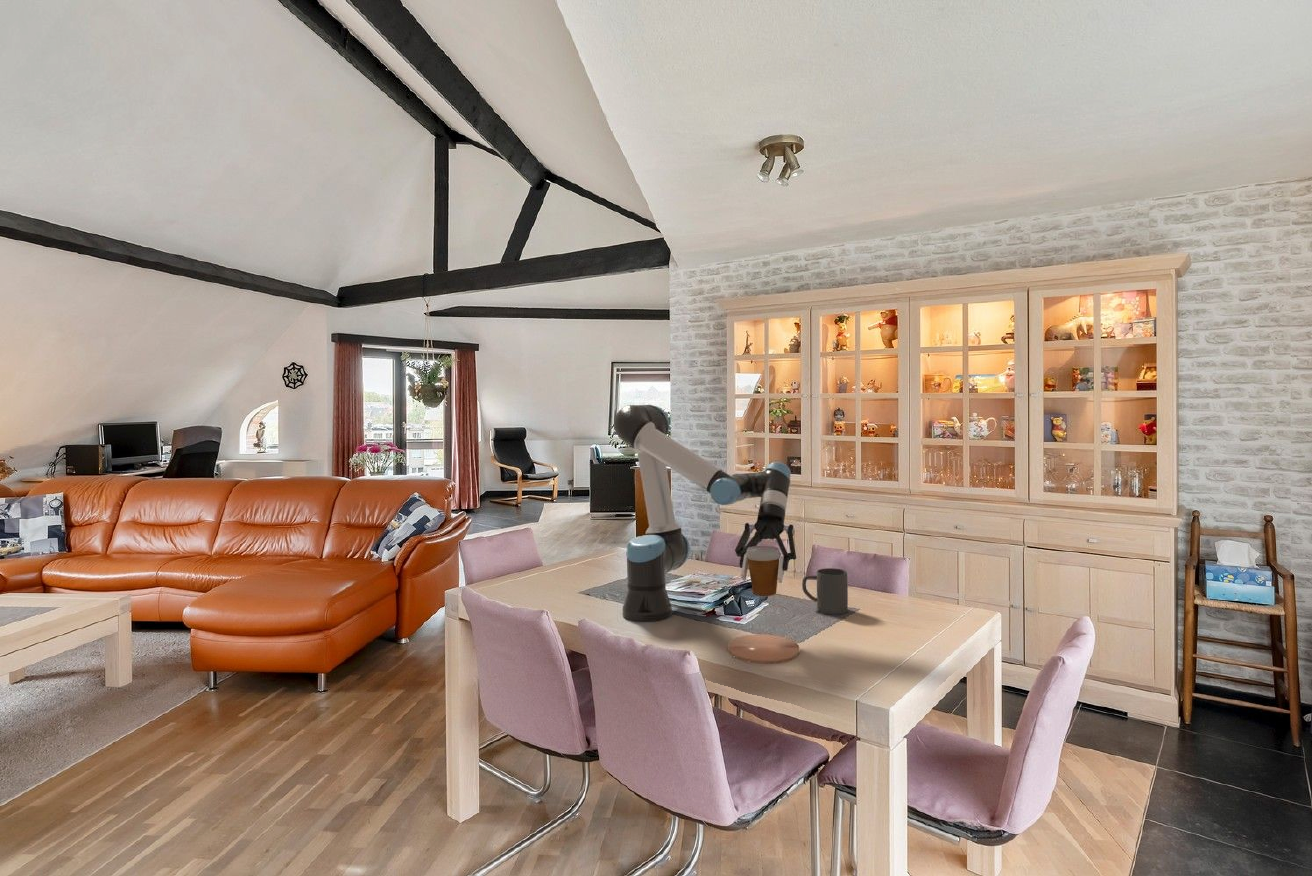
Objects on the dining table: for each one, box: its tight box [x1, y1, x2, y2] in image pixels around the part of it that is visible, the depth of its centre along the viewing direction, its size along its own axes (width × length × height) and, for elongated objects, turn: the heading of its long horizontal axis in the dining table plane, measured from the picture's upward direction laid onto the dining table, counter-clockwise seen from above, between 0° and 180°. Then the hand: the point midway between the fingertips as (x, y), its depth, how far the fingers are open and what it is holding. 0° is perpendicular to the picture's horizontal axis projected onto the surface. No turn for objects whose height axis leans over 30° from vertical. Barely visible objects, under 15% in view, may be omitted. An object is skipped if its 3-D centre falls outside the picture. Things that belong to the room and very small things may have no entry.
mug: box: [801, 567, 849, 615], centre depth 209 cm, size 14×9×12 cm
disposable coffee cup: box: [746, 545, 782, 597], centre depth 184 cm, size 10×10×12 cm
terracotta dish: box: [727, 633, 800, 664], centre depth 174 cm, size 18×18×1 cm
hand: (761, 579), depth 181 cm, fingers closed on disposable coffee cup, 9 cm apart
